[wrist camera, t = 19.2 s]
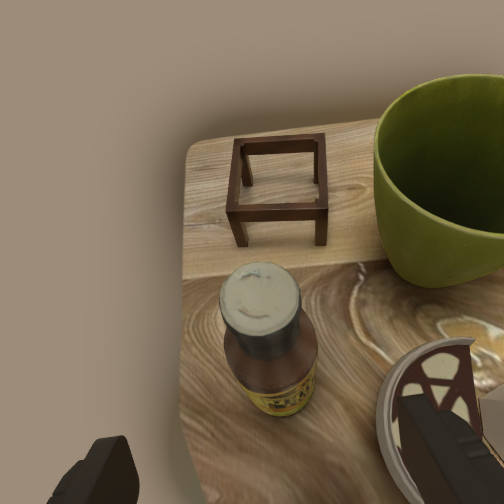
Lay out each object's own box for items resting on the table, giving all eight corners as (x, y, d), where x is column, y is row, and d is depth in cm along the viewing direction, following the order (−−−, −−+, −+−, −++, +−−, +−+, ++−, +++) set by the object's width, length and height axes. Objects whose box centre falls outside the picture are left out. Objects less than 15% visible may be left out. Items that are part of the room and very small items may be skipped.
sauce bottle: (282, 434, 33) (249, 401, 16) (234, 383, 36) (162, 306, 18) (330, 380, 34) (347, 295, 17) (281, 334, 37) (254, 223, 20)
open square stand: (237, 247, 43) (225, 211, 37) (244, 179, 48) (234, 138, 42) (326, 245, 41) (328, 208, 35) (323, 175, 46) (325, 132, 40)
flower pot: (526, 231, 39) (642, 104, 25) (479, 355, 34) (594, 279, 20) (387, 182, 44) (420, 55, 31) (329, 282, 39) (337, 182, 26)
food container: (363, 356, 35) (379, 320, 26) (433, 364, 34) (475, 330, 25) (360, 513, 29) (381, 533, 21) (445, 530, 28) (504, 559, 19)
